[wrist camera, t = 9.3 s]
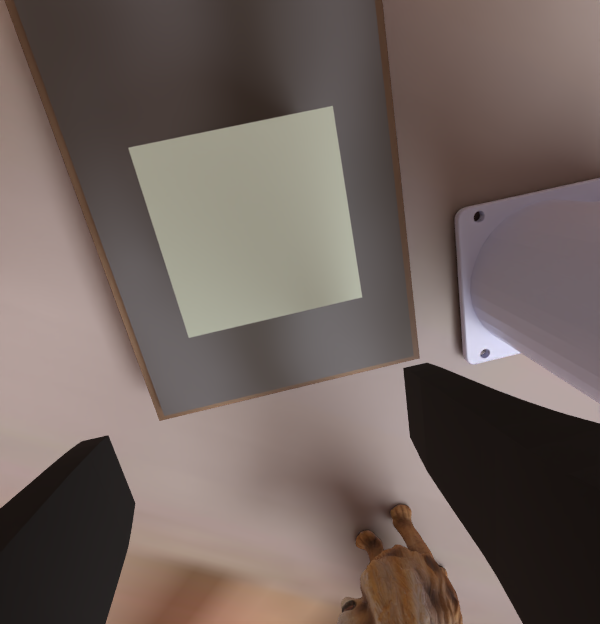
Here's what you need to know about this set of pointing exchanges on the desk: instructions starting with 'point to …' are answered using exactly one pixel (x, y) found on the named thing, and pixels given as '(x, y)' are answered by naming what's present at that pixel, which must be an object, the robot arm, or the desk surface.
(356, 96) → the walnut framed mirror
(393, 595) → the lion figurine
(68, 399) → the desk surface
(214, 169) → the sage block
